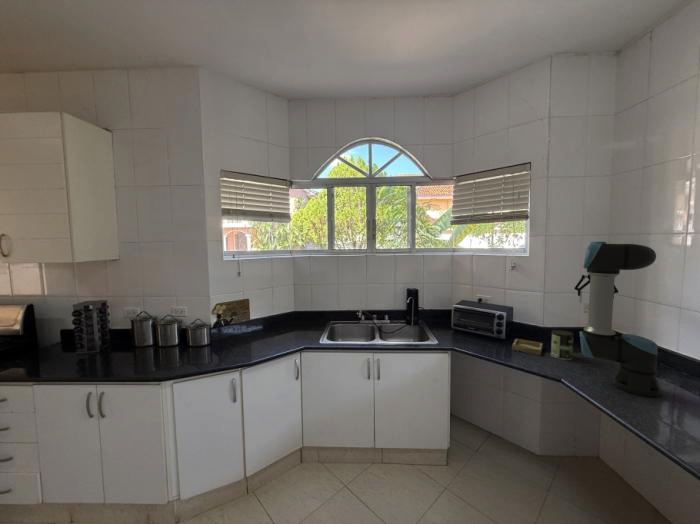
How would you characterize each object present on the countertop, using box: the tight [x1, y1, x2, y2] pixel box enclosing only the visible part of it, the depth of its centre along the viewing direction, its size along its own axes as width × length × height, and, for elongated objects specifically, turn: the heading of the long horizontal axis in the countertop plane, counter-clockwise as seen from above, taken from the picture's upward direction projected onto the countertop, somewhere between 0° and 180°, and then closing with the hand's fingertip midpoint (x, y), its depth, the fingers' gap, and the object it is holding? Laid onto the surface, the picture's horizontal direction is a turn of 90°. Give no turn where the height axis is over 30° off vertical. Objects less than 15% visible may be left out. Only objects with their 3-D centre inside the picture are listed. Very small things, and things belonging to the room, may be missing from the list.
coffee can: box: [550, 329, 575, 361], centre depth 169 cm, size 10×10×14 cm
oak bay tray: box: [511, 338, 543, 356], centre depth 182 cm, size 14×14×3 cm
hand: (594, 302), depth 179 cm, fingers open, 13 cm apart
